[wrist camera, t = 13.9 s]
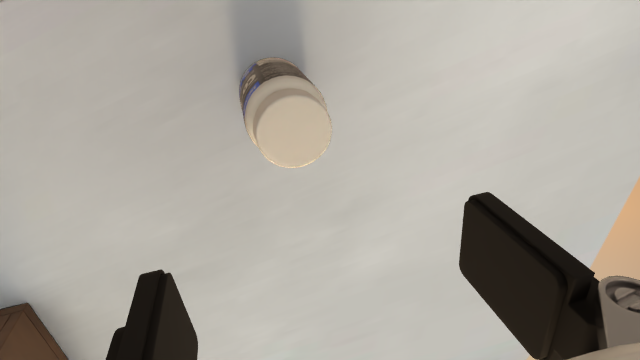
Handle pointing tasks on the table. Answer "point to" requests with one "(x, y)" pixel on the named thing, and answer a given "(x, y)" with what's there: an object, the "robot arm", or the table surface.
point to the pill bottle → (284, 113)
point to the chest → (26, 336)
